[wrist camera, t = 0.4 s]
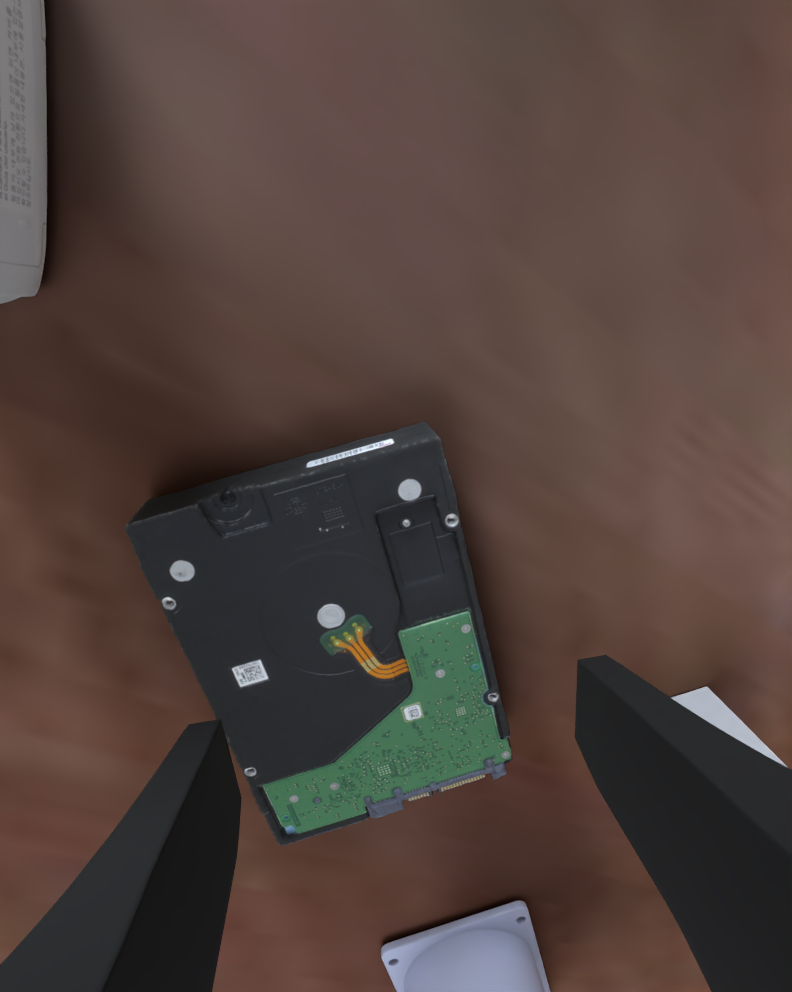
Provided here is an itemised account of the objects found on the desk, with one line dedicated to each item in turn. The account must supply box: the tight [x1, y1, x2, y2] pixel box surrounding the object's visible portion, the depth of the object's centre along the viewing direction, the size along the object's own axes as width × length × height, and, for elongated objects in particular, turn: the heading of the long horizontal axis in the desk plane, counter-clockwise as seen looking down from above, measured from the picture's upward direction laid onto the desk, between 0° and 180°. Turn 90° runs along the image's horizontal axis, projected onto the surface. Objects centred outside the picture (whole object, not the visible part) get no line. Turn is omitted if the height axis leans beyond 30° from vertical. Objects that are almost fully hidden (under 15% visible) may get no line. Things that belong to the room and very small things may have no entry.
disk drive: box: [125, 422, 512, 846], centre depth 20 cm, size 10×3×15 cm
